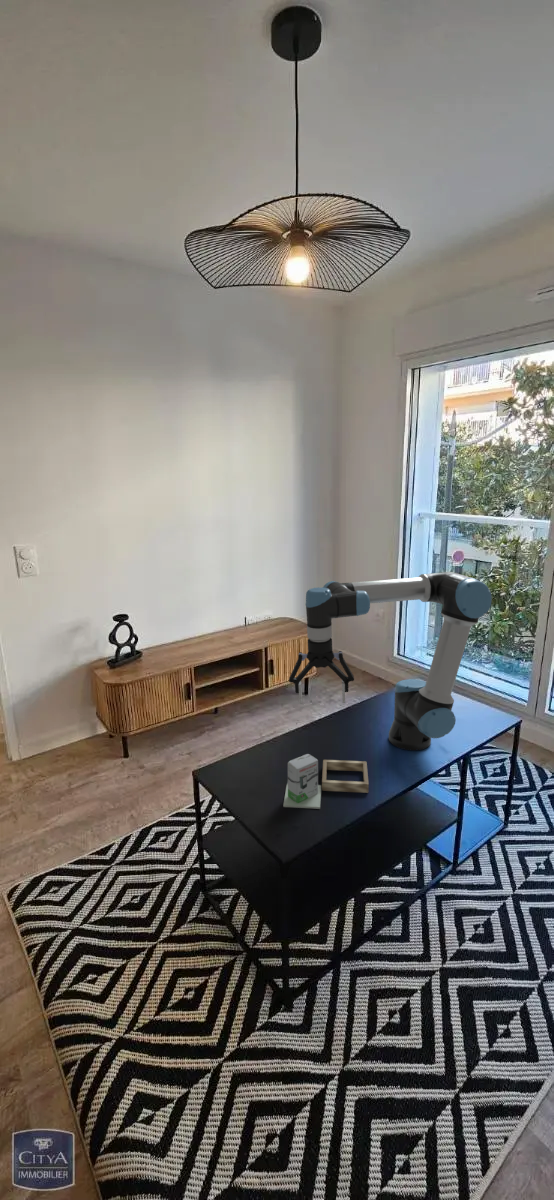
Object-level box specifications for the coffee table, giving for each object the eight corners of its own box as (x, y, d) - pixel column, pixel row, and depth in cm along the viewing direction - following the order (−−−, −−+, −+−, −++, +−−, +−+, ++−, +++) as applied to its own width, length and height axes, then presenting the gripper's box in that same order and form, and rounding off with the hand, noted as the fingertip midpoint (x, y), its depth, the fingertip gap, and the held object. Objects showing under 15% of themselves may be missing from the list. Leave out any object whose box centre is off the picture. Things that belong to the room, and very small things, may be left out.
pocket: (366, 769, 172) (366, 761, 171) (368, 792, 160) (368, 784, 159) (323, 767, 174) (323, 759, 173) (322, 790, 161) (322, 782, 161)
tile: (321, 786, 163) (321, 785, 163) (320, 808, 153) (320, 807, 153) (286, 785, 165) (286, 783, 164) (283, 806, 154) (283, 805, 154)
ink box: (297, 804, 154) (296, 769, 151) (287, 796, 158) (286, 762, 155) (318, 793, 159) (318, 759, 156) (308, 785, 163) (308, 752, 160)
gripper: (359, 633, 160) (360, 695, 165) (280, 635, 162) (283, 697, 168) (361, 641, 153) (362, 706, 158) (278, 643, 155) (282, 707, 160)
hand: (322, 701), depth 163 cm, fingers open, 13 cm apart
